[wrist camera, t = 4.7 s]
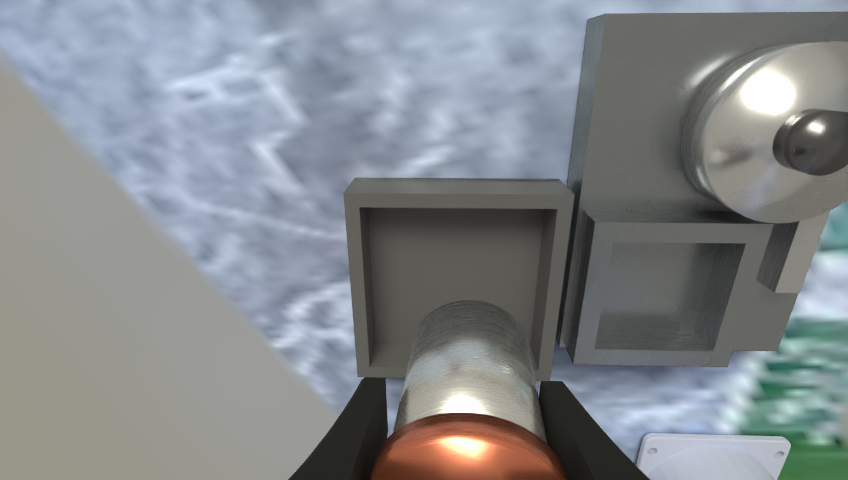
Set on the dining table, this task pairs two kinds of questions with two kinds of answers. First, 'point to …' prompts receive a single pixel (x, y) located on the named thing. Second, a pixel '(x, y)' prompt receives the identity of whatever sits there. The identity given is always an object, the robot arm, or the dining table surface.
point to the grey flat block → (700, 181)
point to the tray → (453, 259)
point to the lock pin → (468, 403)
